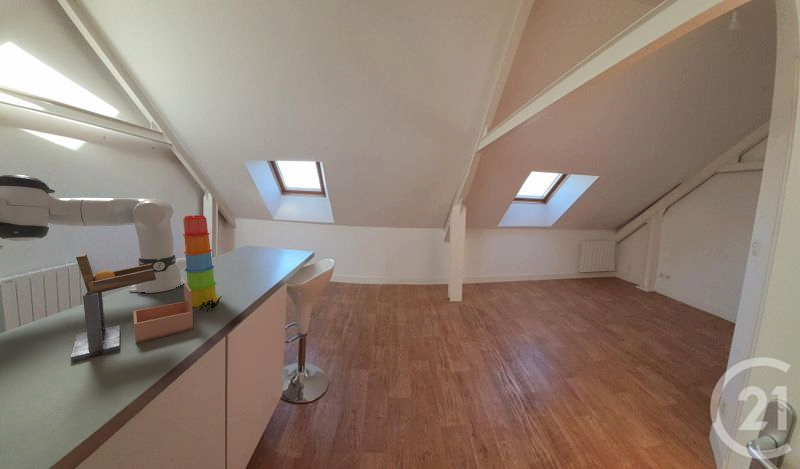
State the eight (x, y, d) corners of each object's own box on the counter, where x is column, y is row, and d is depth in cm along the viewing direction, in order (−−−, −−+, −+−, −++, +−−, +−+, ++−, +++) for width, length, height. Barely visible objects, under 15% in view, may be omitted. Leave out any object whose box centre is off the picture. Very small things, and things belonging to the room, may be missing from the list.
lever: (90, 288, 76) (78, 252, 73) (154, 274, 85) (145, 242, 83) (87, 300, 69) (73, 260, 66) (157, 283, 78) (147, 248, 76)
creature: (190, 315, 98) (207, 314, 96) (187, 301, 97) (204, 299, 95) (210, 307, 105) (226, 305, 103) (207, 293, 105) (223, 292, 103)
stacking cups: (218, 304, 105) (215, 217, 101) (185, 309, 100) (180, 216, 95) (218, 295, 114) (215, 214, 109) (187, 299, 108) (183, 214, 103)
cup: (134, 328, 84) (131, 289, 82) (187, 317, 94) (185, 281, 92) (135, 343, 76) (132, 300, 75) (193, 329, 86) (191, 291, 84)
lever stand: (78, 338, 77) (71, 282, 75) (120, 329, 83) (115, 277, 81) (71, 362, 67) (63, 298, 65) (119, 350, 73) (114, 291, 71)
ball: (95, 283, 74) (93, 270, 74) (116, 281, 77) (114, 267, 76) (94, 287, 71) (92, 273, 71) (115, 285, 74) (114, 271, 74)
